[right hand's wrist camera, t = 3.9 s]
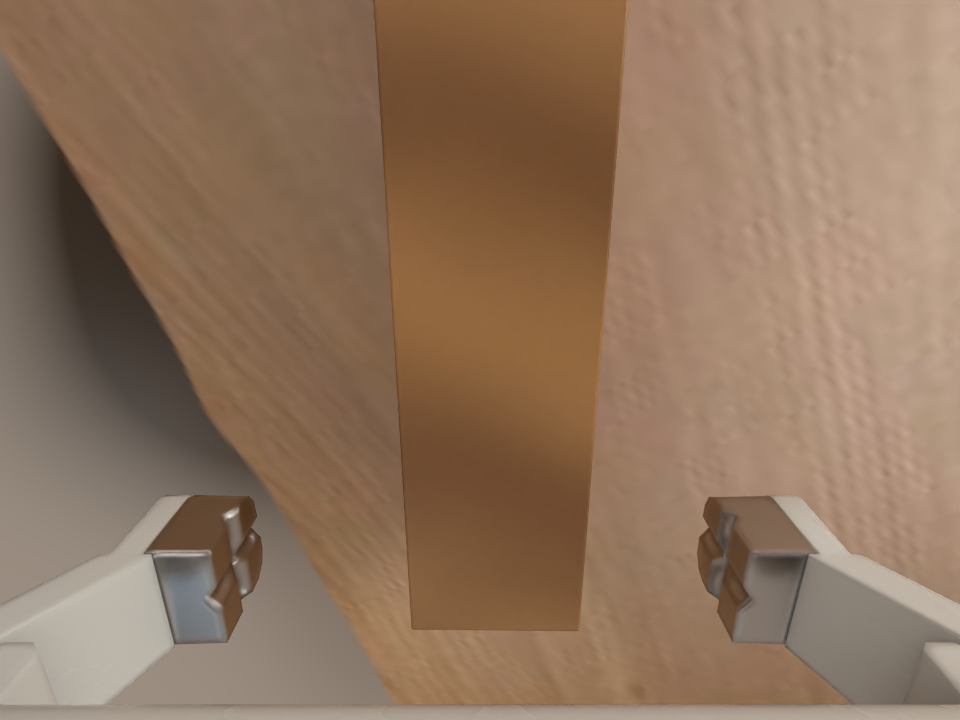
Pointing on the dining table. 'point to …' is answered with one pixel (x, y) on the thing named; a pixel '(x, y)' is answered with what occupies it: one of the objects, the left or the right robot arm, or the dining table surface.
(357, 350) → the dining table surface
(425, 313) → the beam
